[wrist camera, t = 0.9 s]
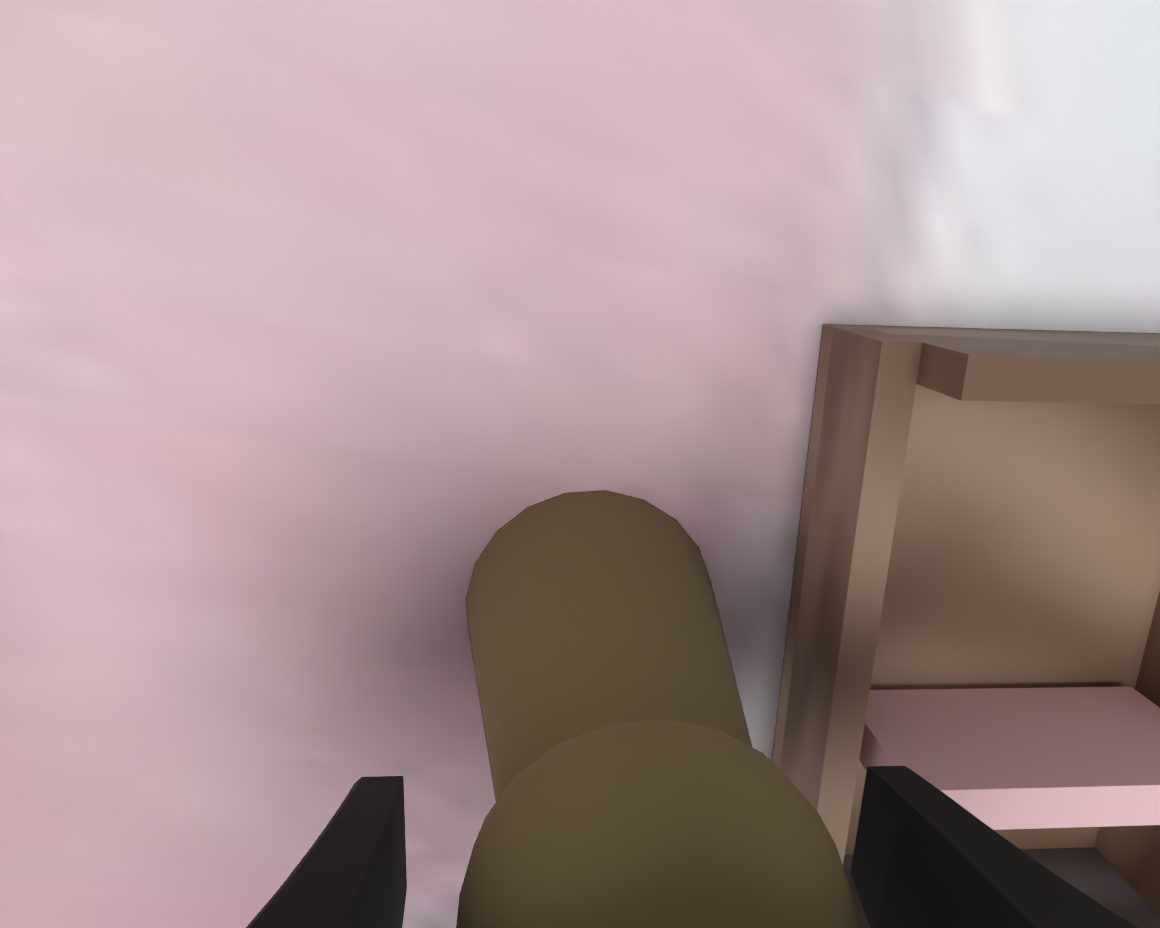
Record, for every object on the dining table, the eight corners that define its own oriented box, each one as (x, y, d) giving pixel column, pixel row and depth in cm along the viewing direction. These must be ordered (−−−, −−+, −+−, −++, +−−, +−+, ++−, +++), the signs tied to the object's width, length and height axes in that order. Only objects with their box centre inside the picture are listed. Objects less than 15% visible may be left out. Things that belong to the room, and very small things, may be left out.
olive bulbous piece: (438, 520, 19) (338, 897, 8) (691, 465, 19) (922, 765, 8) (497, 738, 20) (479, 1283, 10) (728, 686, 20) (958, 1170, 10)
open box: (1098, 859, 23) (1237, 1007, 19) (758, 870, 22) (820, 1029, 18) (1233, 335, 19) (1454, 366, 14) (823, 324, 18) (924, 353, 14)
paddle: (1122, 720, 21) (1249, 822, 17) (836, 725, 20) (906, 832, 16) (1131, 686, 20) (1261, 782, 17) (841, 690, 20) (914, 790, 16)
